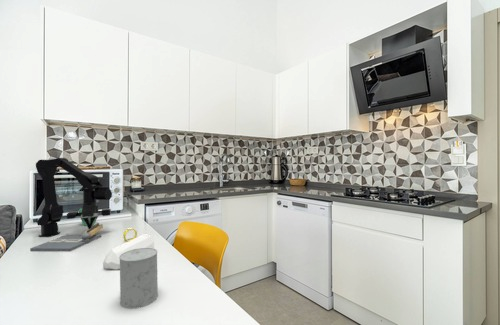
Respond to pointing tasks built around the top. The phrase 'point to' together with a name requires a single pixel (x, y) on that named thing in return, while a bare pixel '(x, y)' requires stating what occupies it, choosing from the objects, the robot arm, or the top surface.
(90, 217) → the mug
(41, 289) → the top surface
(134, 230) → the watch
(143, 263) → the grey concrete cylinder
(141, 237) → the white long bar
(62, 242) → the panel
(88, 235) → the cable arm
